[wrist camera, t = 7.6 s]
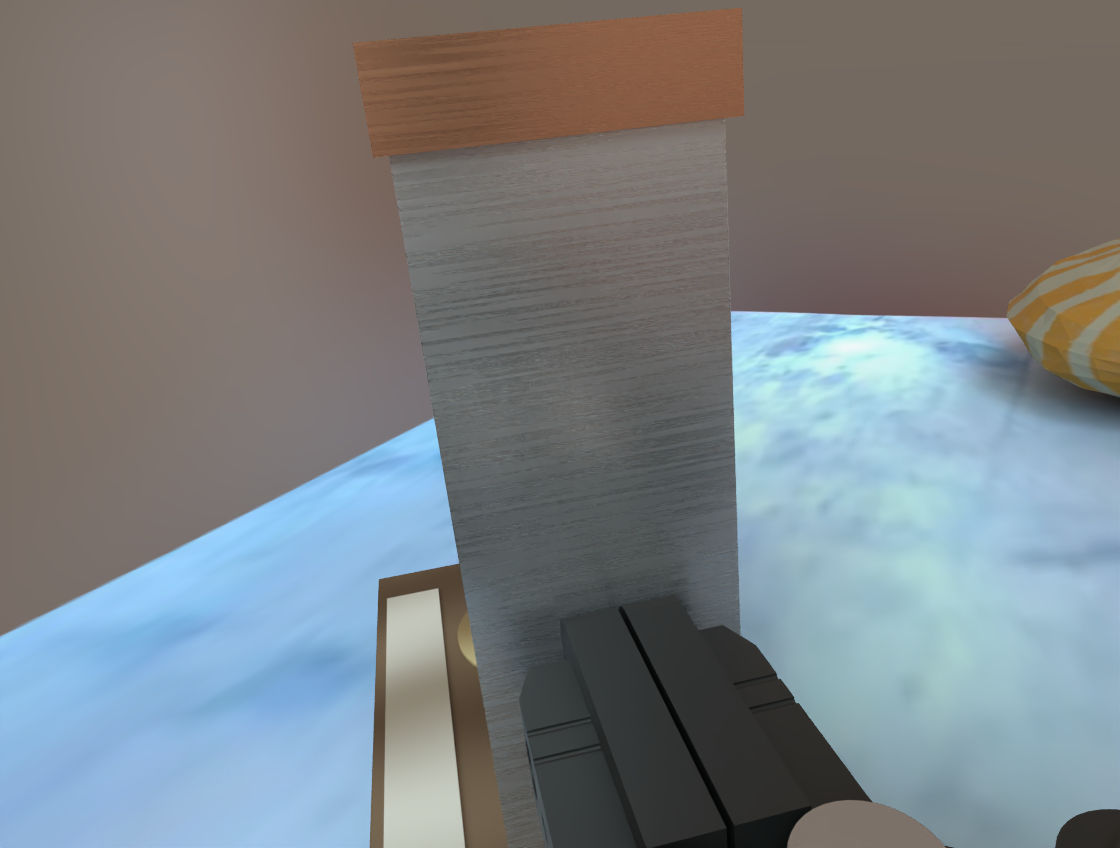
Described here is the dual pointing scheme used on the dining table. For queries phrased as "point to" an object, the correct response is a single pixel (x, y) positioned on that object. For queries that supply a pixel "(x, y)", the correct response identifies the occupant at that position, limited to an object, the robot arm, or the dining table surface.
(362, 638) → the dining table surface
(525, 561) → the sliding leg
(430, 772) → the wooden base plate
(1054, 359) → the nautilus
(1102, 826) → the robot arm
